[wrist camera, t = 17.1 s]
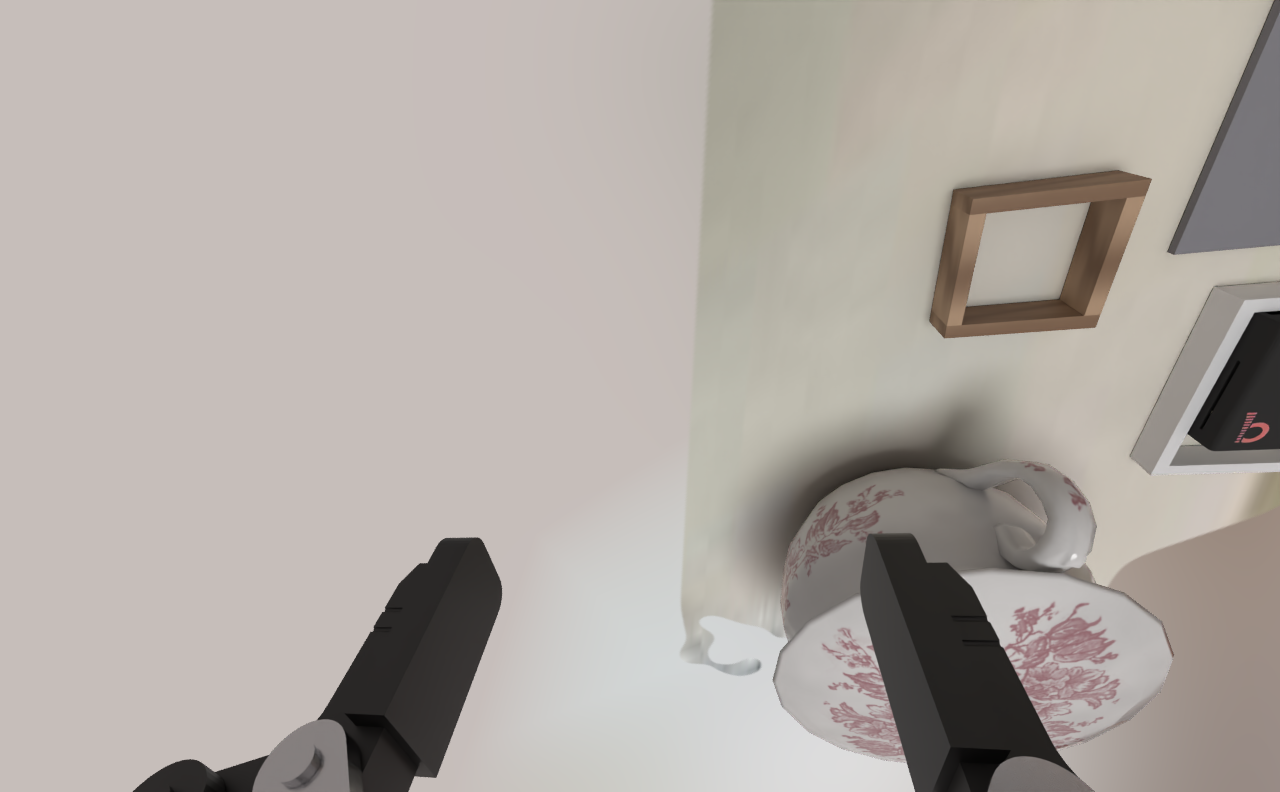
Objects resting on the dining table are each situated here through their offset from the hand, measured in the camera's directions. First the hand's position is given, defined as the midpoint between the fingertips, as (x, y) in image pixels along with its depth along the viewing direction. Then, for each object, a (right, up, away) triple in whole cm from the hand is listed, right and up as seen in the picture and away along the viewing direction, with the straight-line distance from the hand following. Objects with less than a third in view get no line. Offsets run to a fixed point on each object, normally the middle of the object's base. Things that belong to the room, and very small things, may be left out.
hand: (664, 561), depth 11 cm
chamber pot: (+26, -10, +42) cm, 50 cm away
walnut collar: (+27, +14, +26) cm, 40 cm away
